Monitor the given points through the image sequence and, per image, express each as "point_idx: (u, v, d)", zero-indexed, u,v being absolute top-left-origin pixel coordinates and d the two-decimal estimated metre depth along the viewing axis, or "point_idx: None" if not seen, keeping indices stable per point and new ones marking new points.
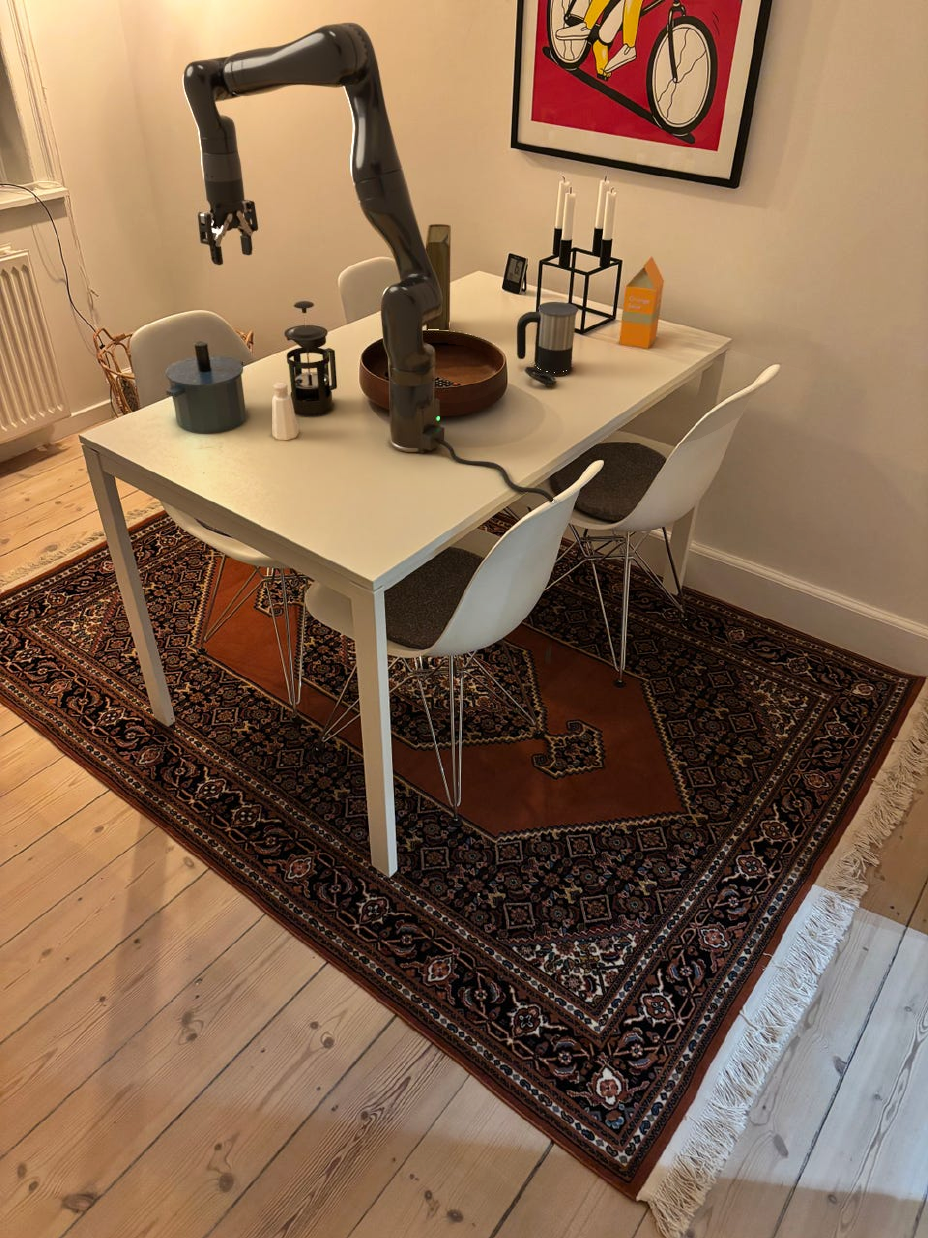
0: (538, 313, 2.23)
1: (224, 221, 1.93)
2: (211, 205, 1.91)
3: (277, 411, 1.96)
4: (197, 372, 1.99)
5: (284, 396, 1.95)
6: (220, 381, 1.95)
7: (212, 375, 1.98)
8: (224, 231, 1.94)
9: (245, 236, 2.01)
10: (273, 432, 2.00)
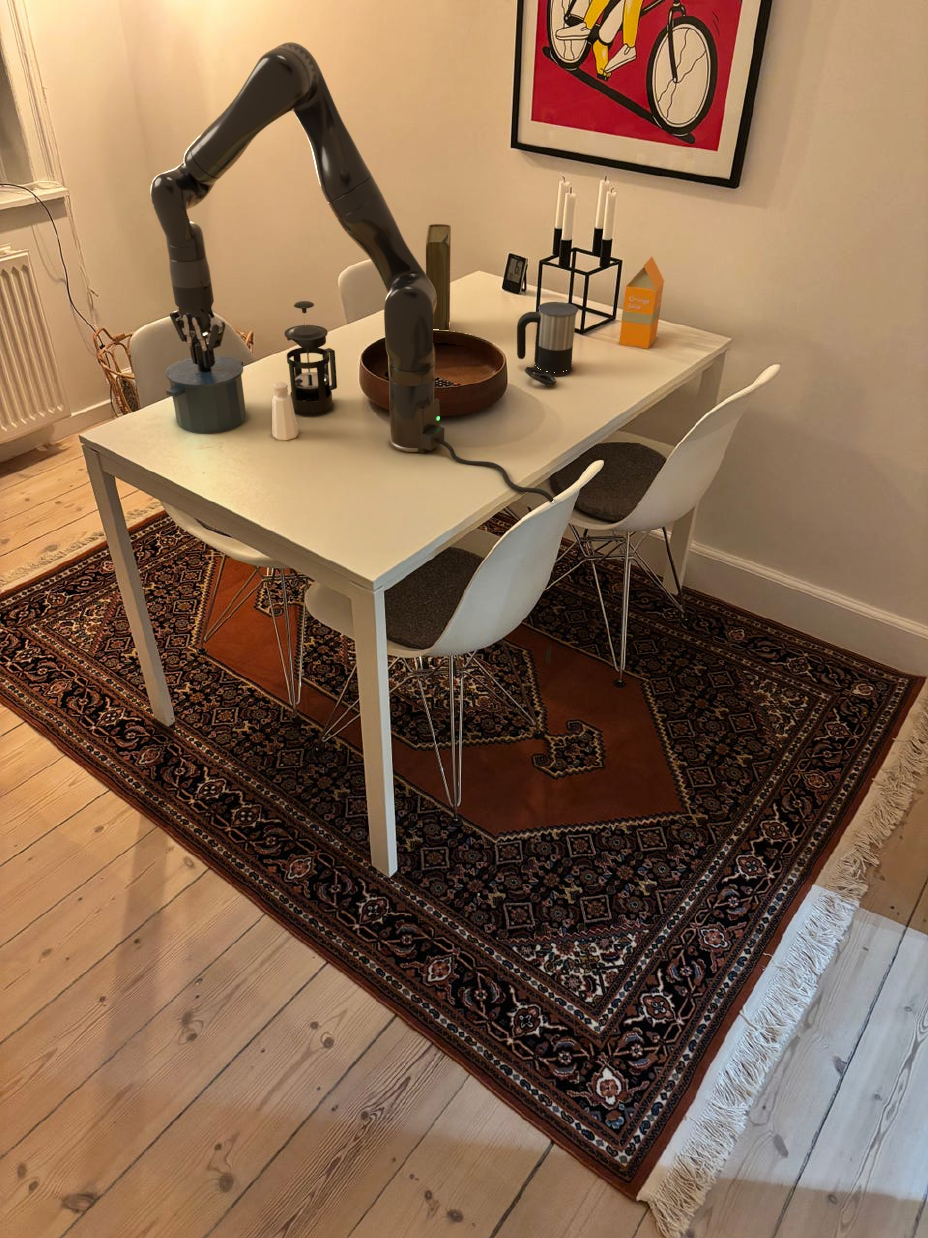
0: (538, 313, 2.23)
1: None
2: None
3: (277, 411, 1.96)
4: (197, 372, 1.99)
5: (284, 396, 1.95)
6: (220, 381, 1.95)
7: (212, 375, 1.98)
8: (187, 332, 1.95)
9: None
10: (273, 432, 2.00)
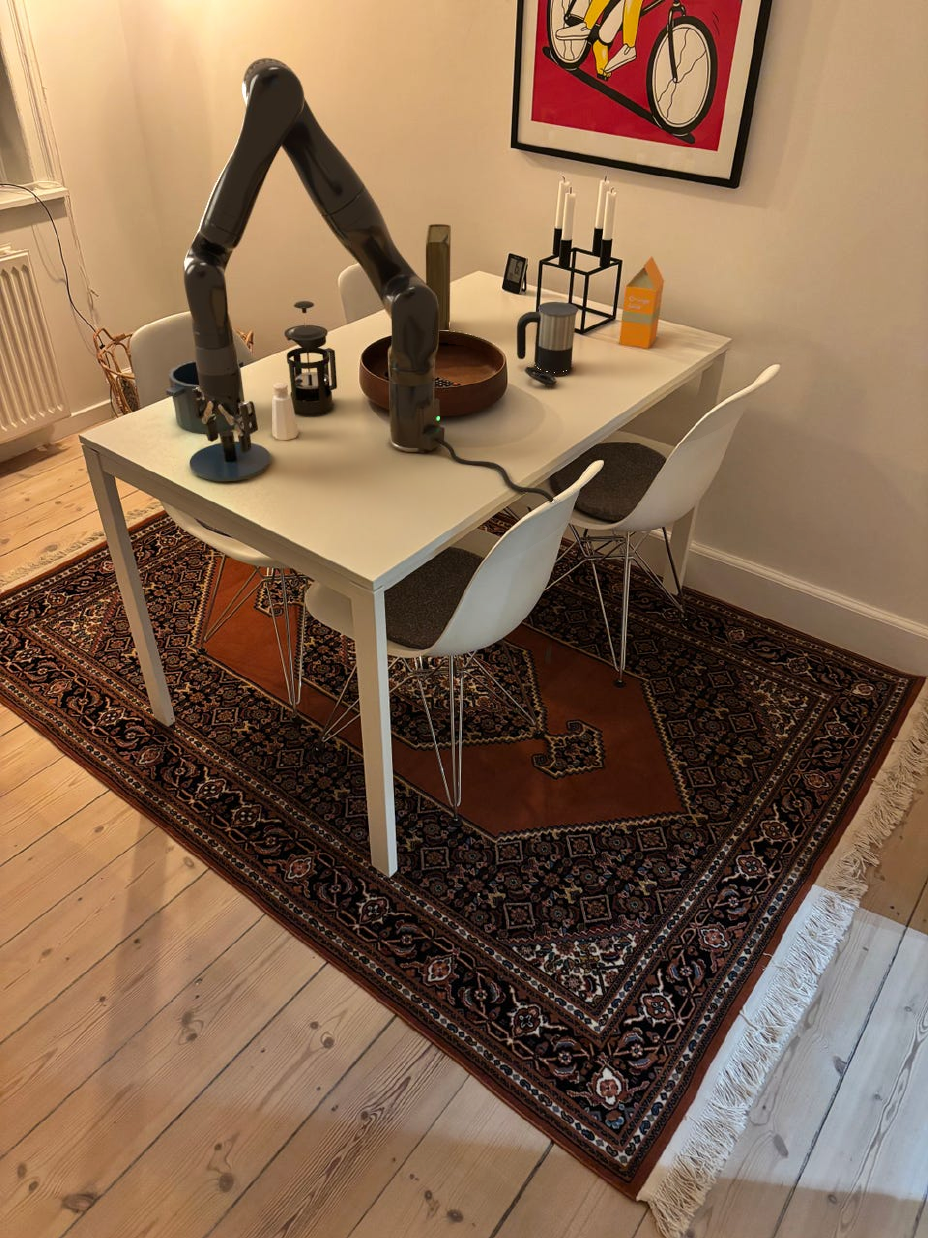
0: (538, 313, 2.23)
1: None
2: None
3: (277, 411, 1.96)
4: (223, 463, 1.88)
5: (284, 396, 1.95)
6: (247, 474, 1.85)
7: (238, 466, 1.87)
8: (206, 414, 1.84)
9: None
10: (273, 432, 2.00)
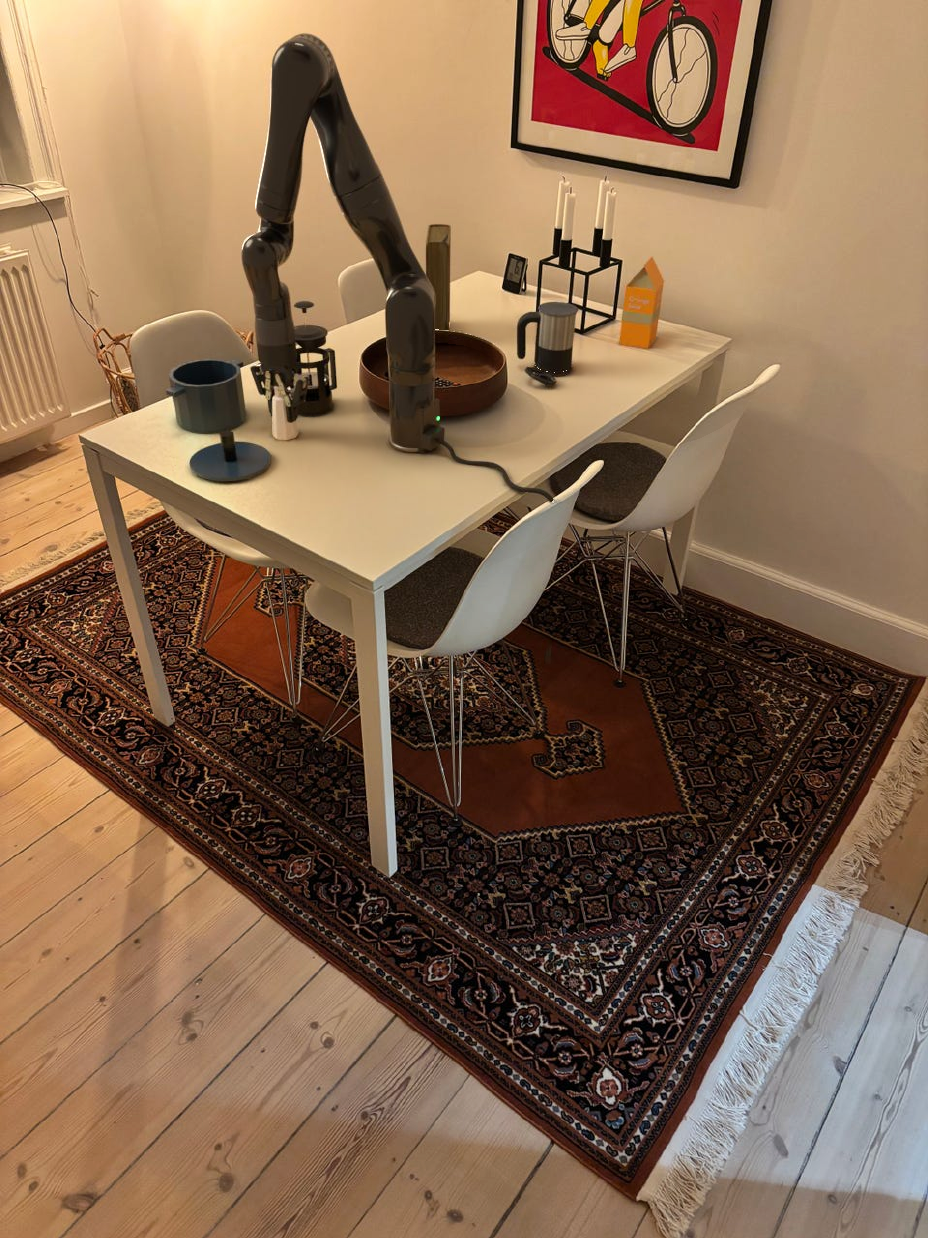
0: (538, 313, 2.23)
1: None
2: None
3: (277, 411, 1.96)
4: (223, 463, 1.88)
5: None
6: (247, 474, 1.85)
7: (238, 466, 1.87)
8: (267, 387, 1.94)
9: None
10: (273, 432, 2.00)
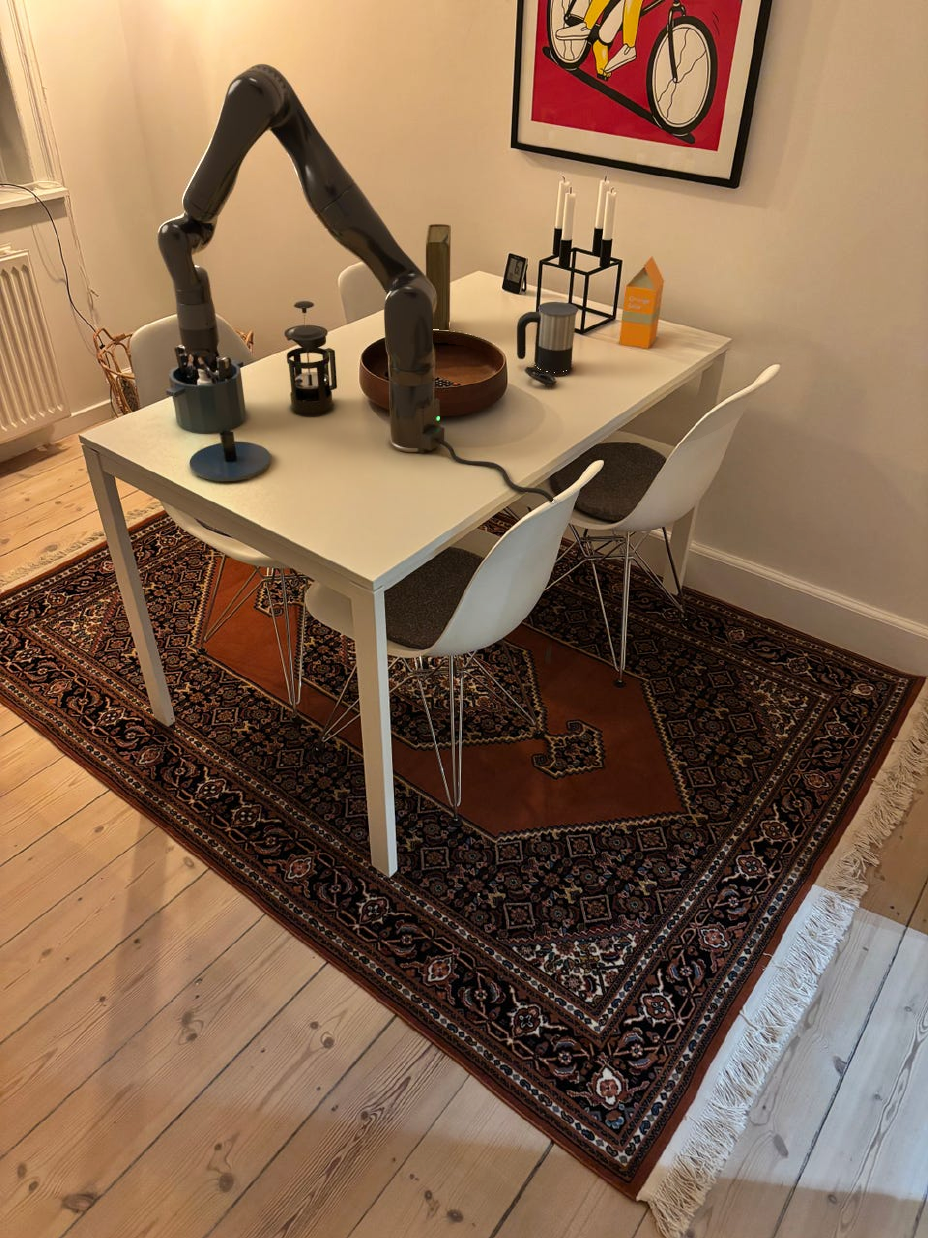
0: (538, 313, 2.23)
1: None
2: None
3: None
4: (223, 463, 1.88)
5: (208, 379, 2.00)
6: (247, 474, 1.85)
7: (238, 466, 1.87)
8: (189, 368, 2.00)
9: None
10: None
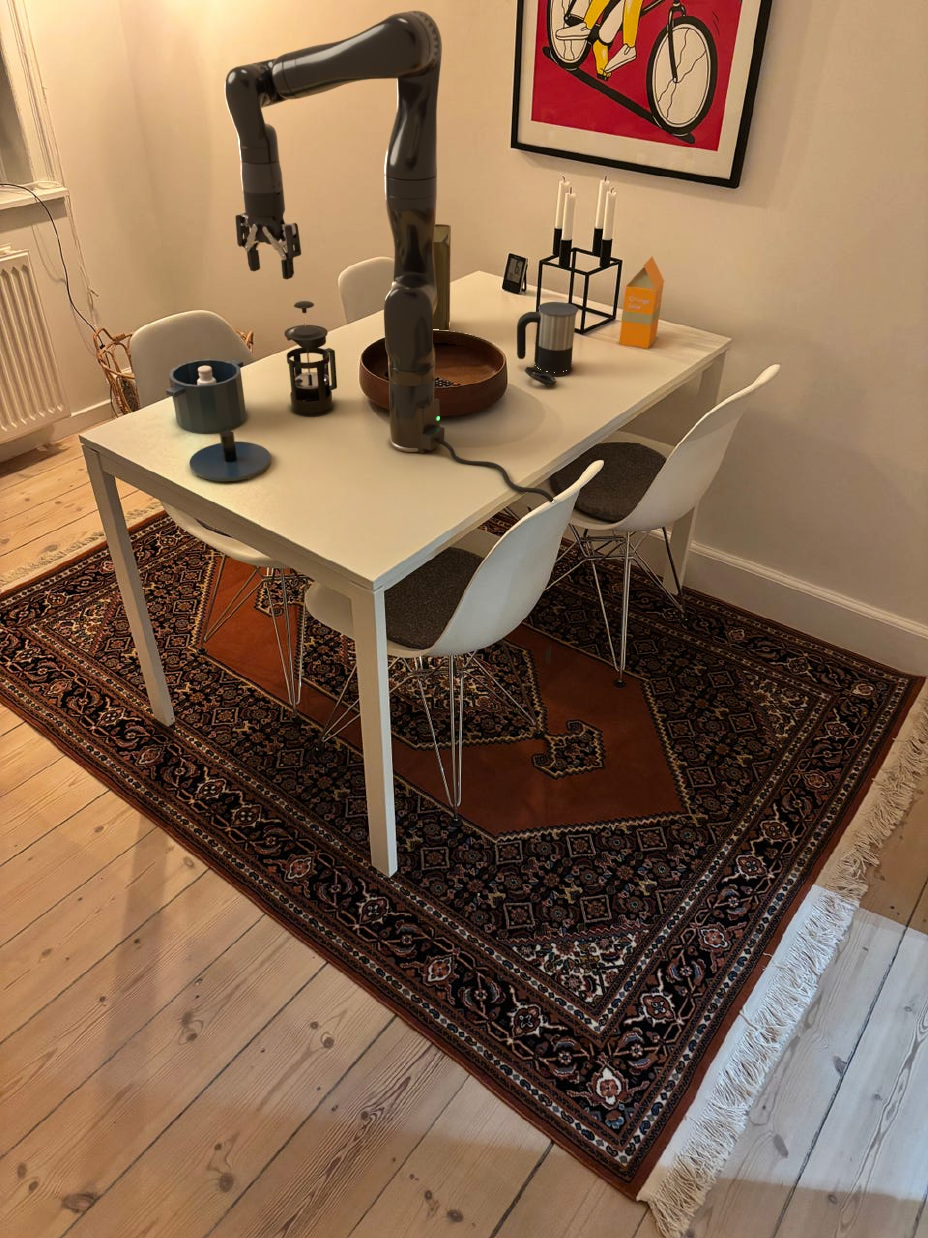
0: (538, 313, 2.23)
1: None
2: None
3: None
4: (223, 463, 1.88)
5: (208, 379, 2.00)
6: (247, 474, 1.85)
7: (238, 466, 1.87)
8: (250, 239, 1.87)
9: None
10: None
